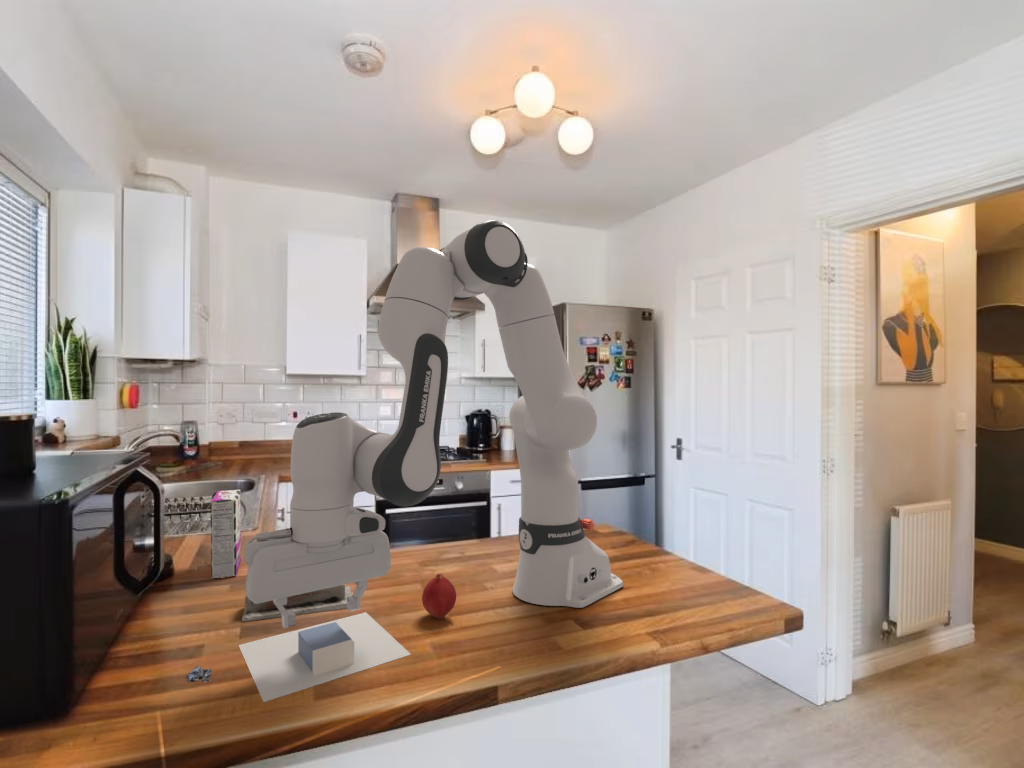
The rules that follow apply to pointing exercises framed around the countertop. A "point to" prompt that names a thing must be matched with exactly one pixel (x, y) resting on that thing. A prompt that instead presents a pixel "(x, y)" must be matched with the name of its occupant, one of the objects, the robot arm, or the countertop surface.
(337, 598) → the packaged product
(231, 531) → the candy bar box
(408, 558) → the countertop surface
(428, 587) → the onion
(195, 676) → the blueberries
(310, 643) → the card box
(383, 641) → the rubber mat
